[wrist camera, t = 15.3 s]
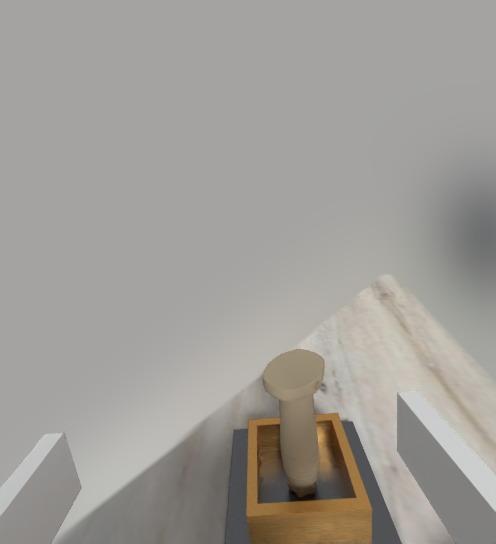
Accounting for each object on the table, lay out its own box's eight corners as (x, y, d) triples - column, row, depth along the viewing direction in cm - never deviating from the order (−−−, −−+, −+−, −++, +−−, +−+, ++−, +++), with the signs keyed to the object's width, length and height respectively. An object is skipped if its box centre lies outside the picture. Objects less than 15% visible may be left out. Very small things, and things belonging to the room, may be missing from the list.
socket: (223, 590, 26) (215, 551, 24) (234, 435, 41) (230, 406, 39) (413, 581, 25) (416, 541, 23) (352, 427, 40) (352, 397, 38)
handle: (266, 492, 32) (252, 375, 27) (300, 451, 36) (293, 344, 32) (303, 525, 29) (294, 397, 24) (337, 476, 33) (334, 360, 28)
